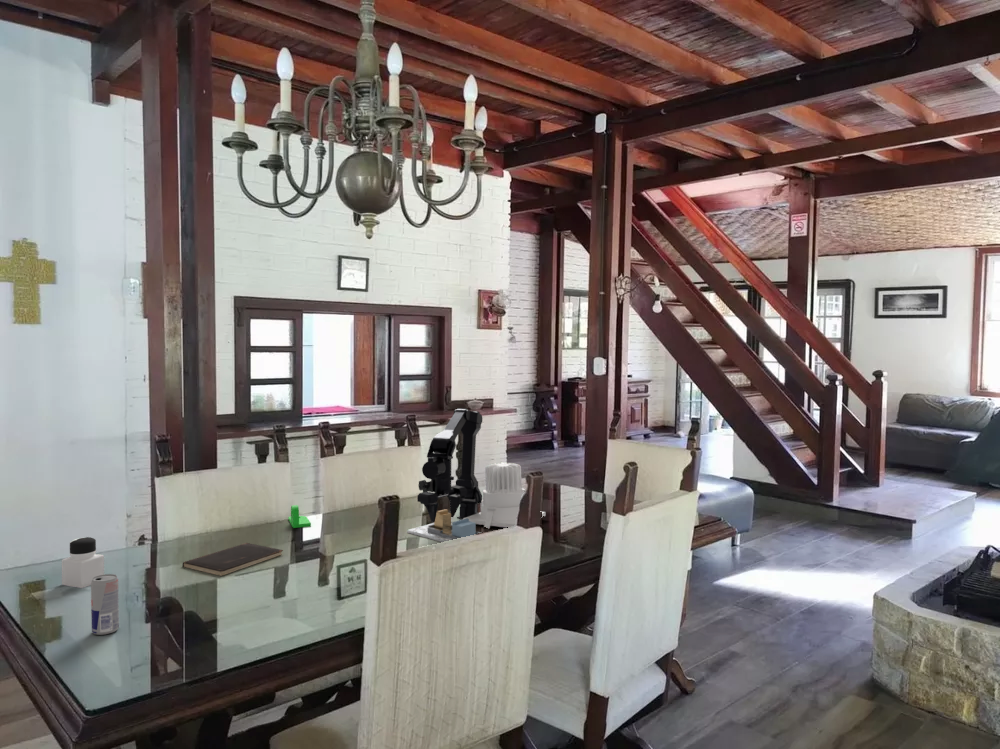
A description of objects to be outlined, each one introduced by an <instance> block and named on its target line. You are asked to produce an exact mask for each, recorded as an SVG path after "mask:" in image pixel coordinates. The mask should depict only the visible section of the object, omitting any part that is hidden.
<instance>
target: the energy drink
mask: <svg viewBox="0 0 1000 749" xmlns="http://www.w3.org/2000/svg"><path fill="white" fill-rule="evenodd" d="M119 595H120V594H119V578H118V575H117V574H113V573H107V574H105V573H104V575H99V576H96V577H94V578H92V582H91V585H90V598H91V599H90V601H91V602H90V603H91V604H90V606H91V610H90V612H91V615H90V616H91V632H92V633H93V635H95V636H97V635H98V636H99V635H100V636H103V635H110V634H112V633H115V632H116V631H118V629H120V617H119V616H120V614H119V613H120V610H119V608H120V605H119V602H120V601H119V600H120V598H119Z"/></svg>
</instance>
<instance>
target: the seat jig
mask: <svg viewBox="0 0 1000 749" xmlns="http://www.w3.org/2000/svg"><path fill="white" fill-rule="evenodd" d="M406 533H407V534H410V535H415V536H418V537H422V538H426V539H429V540H433V541H437V542H439V543H443V542H444V541H449V540H453V539H457V538H461V537H458V536H454V535H452V524H451V531H448V532H445V533H443V530H440V529H436V528H434V522H431V523H429V524H425V525H420V526H417V527H413V528H409V529H407V530H406ZM478 533H481V532H480V531H476V533H475V534H478Z"/></svg>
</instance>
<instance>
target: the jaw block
mask: <svg viewBox="0 0 1000 749" xmlns="http://www.w3.org/2000/svg"><path fill="white" fill-rule="evenodd" d="M433 523H434V528H436V529H440V530H443V533H445V532H448V531H451V525H452V517H451V513H450V512H449V509H448V508H447V509H445V508H444V509H441V510H437V513H436V519H435V522H433Z"/></svg>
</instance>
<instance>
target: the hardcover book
mask: <svg viewBox="0 0 1000 749" xmlns="http://www.w3.org/2000/svg"><path fill="white" fill-rule="evenodd" d="M283 551H284V550H283V549H279V548H275V547H269V546H265V545H259V544H255V543H250V542H249V543H248V542H244V543H241V544H239V545H235V546H232V547H229V548H226V549H222V550H219V551H215V552H212V553H209V554H206V555H202V556H198V557H195V558H193V559H188V560H185V561H183V562H182V567H184V568H187V569H192V570H195V571H199V572H203V573H208V574H212V575H216V576H220V577H222V576H225V575H228V574H230V573H234V572H236V571H239V570H242V569H245V568H248V567H250V566H253V565H256V564H259V563H262V562H265V561H268V560H271V559H274V558H277V557H280V556H282V554H283V553H282V552H283Z"/></svg>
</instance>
